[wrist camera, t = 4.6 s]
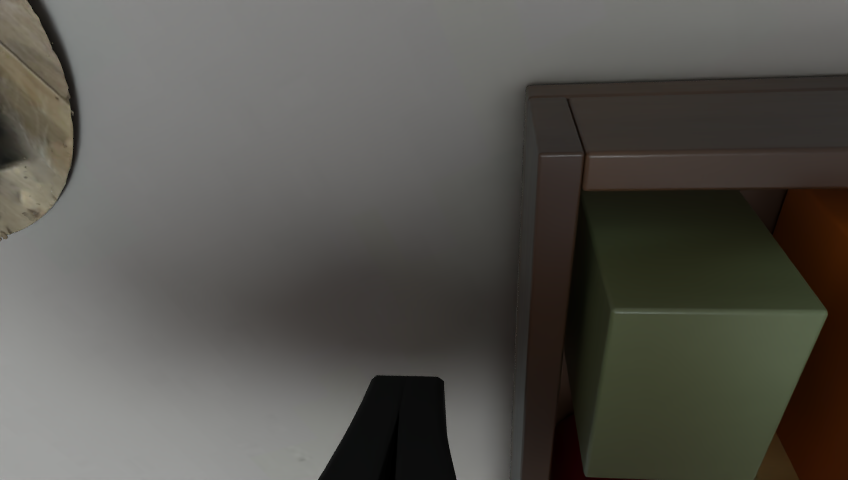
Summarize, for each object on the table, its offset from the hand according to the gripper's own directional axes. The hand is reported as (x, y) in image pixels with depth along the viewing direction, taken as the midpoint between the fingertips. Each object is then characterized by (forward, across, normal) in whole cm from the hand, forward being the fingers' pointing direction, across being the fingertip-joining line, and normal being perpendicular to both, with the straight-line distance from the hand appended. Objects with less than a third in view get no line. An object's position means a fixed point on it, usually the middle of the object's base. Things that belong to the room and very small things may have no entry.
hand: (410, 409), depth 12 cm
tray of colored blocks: (+2, -6, 0) cm, 6 cm away
